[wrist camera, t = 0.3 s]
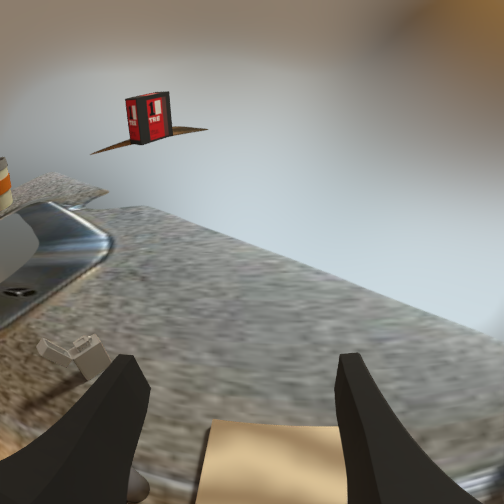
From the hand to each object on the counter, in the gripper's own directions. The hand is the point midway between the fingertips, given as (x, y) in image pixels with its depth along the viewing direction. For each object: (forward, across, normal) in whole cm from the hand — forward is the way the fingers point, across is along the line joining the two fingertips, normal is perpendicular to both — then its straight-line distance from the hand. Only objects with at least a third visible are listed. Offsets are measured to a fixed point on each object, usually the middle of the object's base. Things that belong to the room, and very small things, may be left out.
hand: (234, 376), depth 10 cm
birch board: (-1, 0, +21) cm, 21 cm away
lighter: (+12, +22, +19) cm, 31 cm away
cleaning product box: (+124, +51, +10) cm, 134 cm away
